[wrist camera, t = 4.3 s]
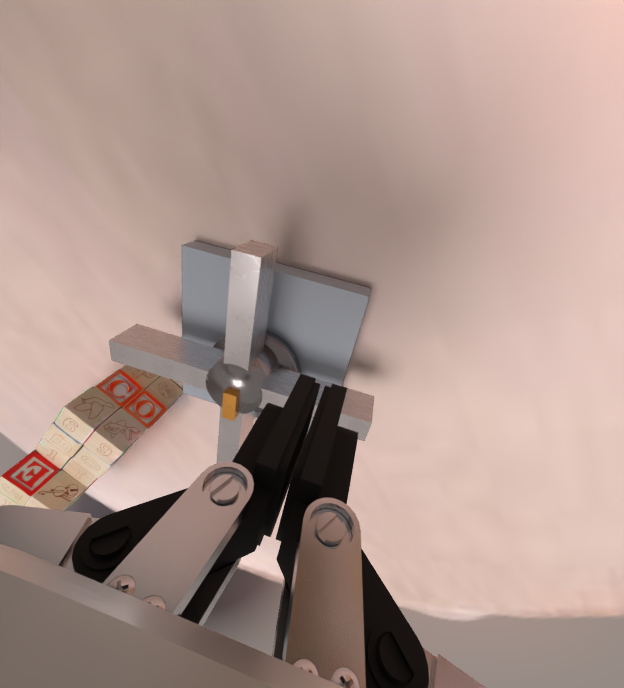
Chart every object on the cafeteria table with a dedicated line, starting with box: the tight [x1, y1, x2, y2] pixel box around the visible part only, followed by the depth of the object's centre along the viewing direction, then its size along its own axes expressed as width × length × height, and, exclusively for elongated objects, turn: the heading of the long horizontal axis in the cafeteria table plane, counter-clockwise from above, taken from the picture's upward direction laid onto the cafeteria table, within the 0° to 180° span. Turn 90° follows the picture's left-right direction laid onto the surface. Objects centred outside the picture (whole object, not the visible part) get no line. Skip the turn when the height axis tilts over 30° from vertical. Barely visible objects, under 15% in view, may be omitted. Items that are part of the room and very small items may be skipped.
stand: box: [181, 241, 371, 431], centre depth 29 cm, size 15×15×2 cm
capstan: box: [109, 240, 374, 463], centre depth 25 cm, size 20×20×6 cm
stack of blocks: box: [0, 365, 183, 511], centre depth 34 cm, size 21×6×12 cm, turn 135°
